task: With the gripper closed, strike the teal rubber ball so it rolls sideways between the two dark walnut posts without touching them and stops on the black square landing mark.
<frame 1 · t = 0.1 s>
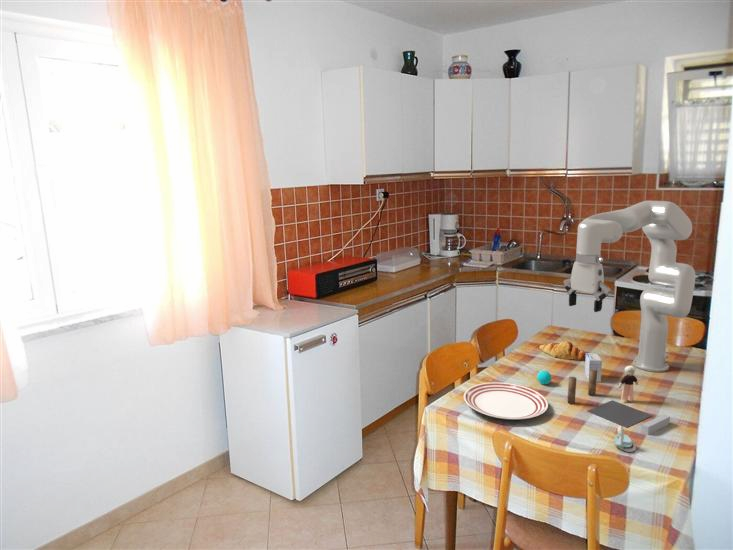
hand: (584, 308, 186), 31 cm above the table, tool pointing down, fingers open, 9 cm apart
grandmother figurine: (627, 401, 186), on the table
croissant: (563, 356, 231), on the table
pacifier: (624, 447, 157), on the table
landing mark: (619, 413, 177), on the table
medicine box: (592, 378, 206), on the table
ball: (544, 377, 201), on the table
dinner plate: (504, 407, 184), on the table
post far: (571, 402, 185), on the table
post near arm: (591, 394, 192), on the table
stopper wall: (655, 427, 167), on the table
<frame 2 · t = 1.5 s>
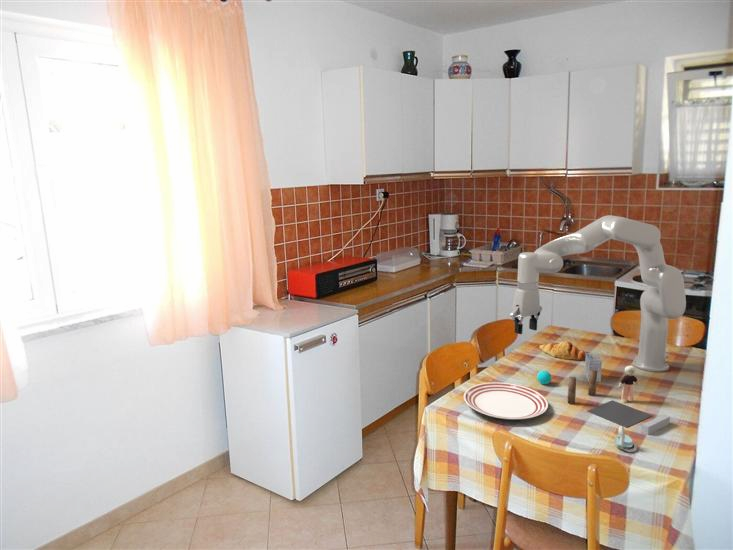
hand: (525, 331, 206), 18 cm above the table, tool pointing down, fingers open, 7 cm apart
nothing on the table moved.
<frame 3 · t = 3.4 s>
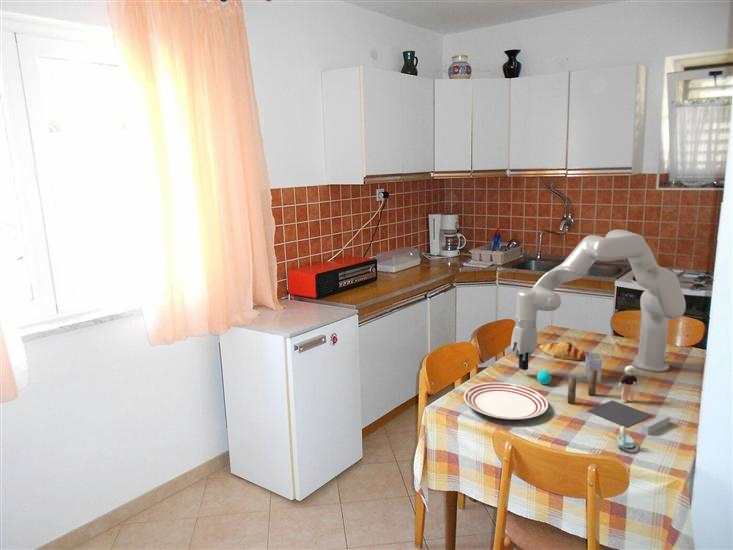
hand: (523, 368, 209), 3 cm above the table, tool pointing down, fingers closed
nothing on the table moved.
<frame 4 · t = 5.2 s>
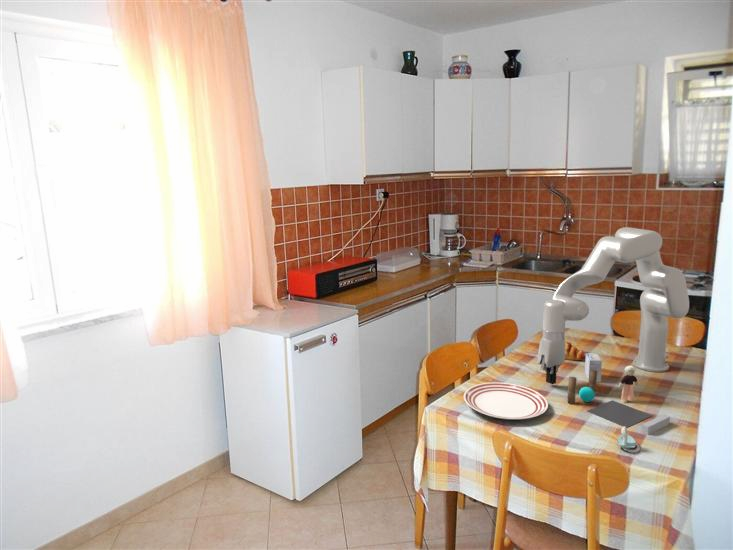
hand: (550, 382, 199), 2 cm above the table, tool pointing down, fingers closed
ball: (586, 394, 186), on the table
everything else where it was.
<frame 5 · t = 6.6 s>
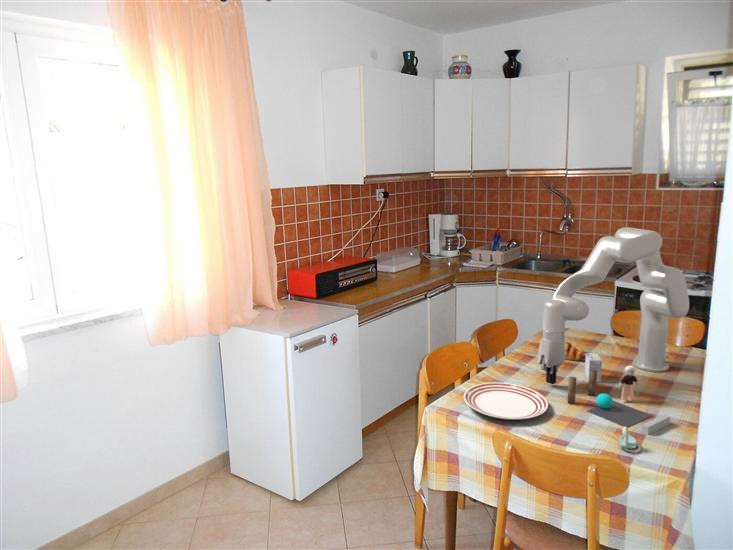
hand: (550, 382, 199), 2 cm above the table, tool pointing down, fingers closed
ball: (604, 401, 181), on the table
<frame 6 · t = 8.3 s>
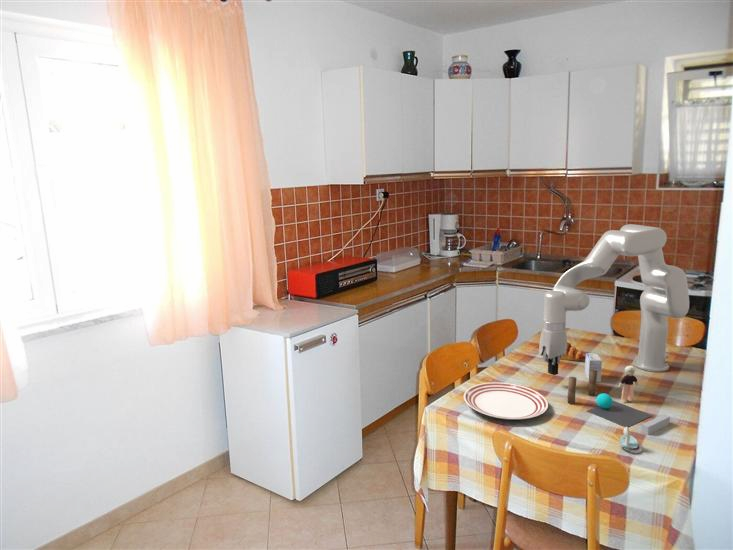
hand: (552, 373, 198), 5 cm above the table, tool pointing down, fingers closed
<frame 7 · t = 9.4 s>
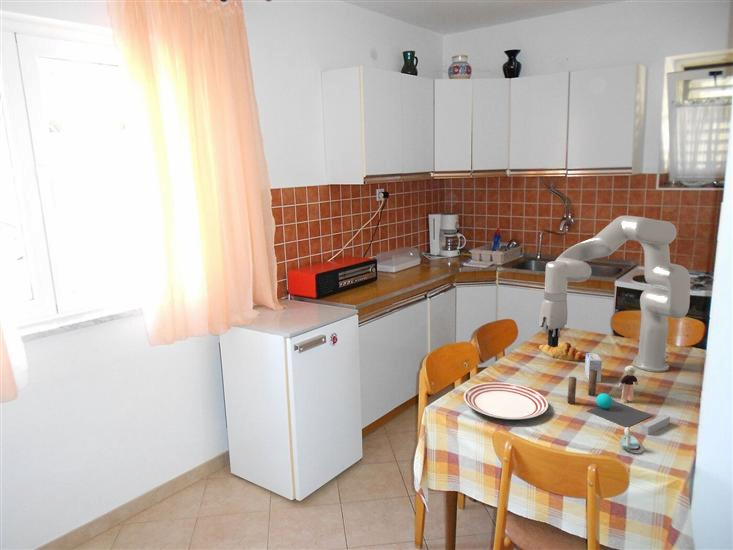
hand: (552, 346, 196), 15 cm above the table, tool pointing down, fingers closed
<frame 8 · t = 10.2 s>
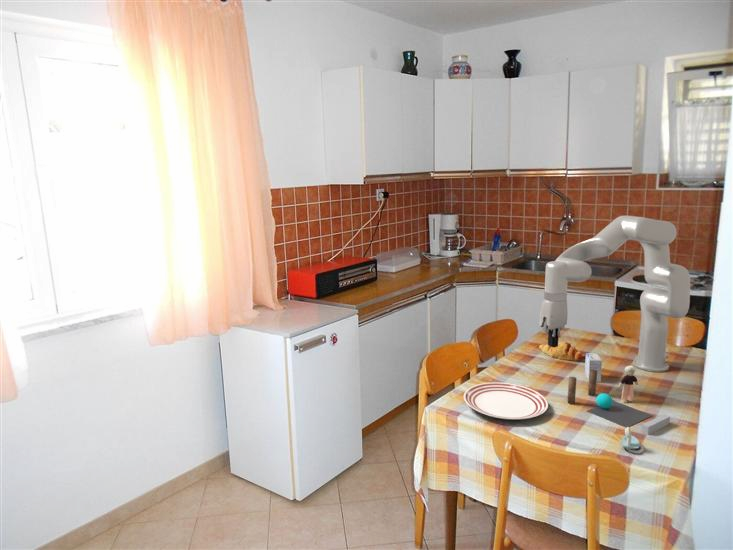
hand: (552, 346, 196), 15 cm above the table, tool pointing down, fingers closed
at the end: ball 5.2 cm from the landing mark (horizontally); ball never touched post near arm; ball never touched post far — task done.
